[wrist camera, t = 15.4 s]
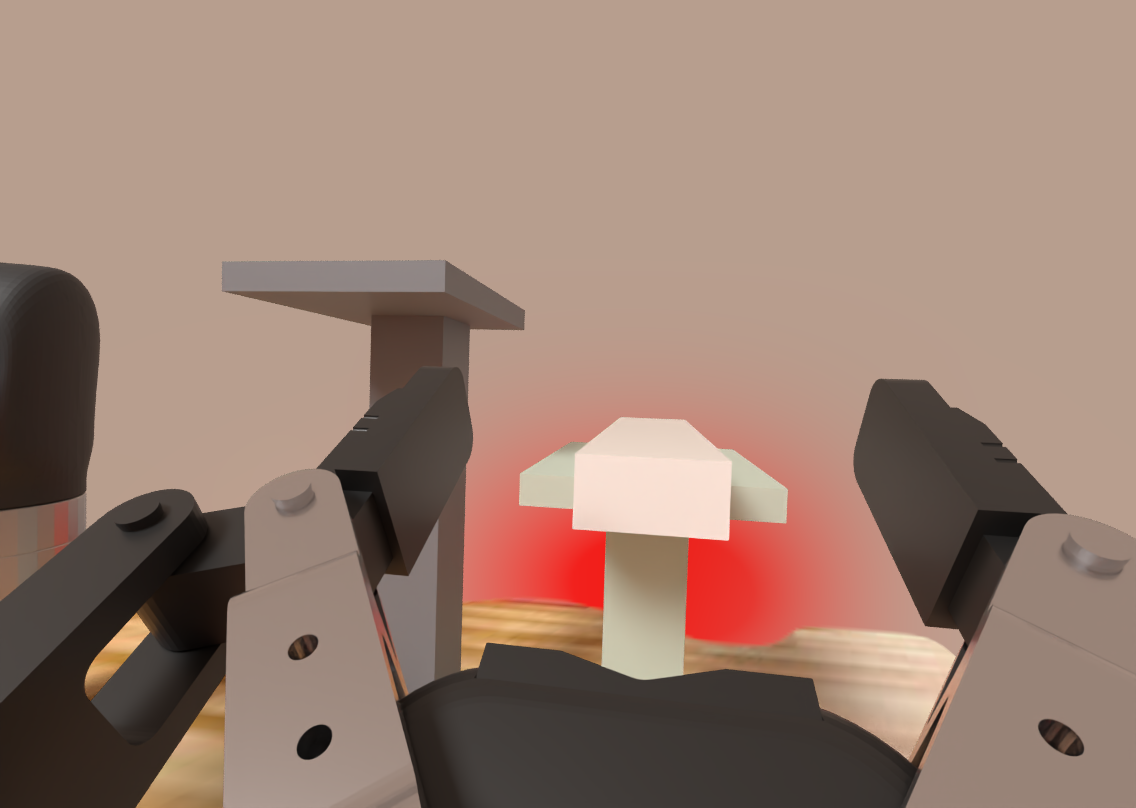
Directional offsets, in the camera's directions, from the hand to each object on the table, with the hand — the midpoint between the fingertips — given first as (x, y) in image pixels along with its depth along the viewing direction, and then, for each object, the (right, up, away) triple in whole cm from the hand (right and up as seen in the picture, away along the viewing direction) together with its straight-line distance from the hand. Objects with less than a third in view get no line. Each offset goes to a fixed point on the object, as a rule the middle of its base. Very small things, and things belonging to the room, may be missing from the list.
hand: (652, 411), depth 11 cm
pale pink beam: (+2, -3, +15) cm, 16 cm away
